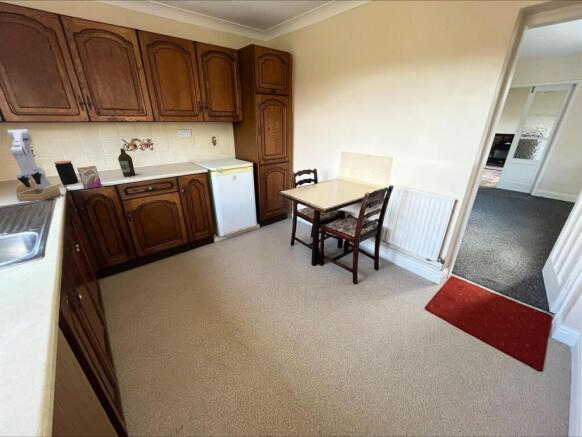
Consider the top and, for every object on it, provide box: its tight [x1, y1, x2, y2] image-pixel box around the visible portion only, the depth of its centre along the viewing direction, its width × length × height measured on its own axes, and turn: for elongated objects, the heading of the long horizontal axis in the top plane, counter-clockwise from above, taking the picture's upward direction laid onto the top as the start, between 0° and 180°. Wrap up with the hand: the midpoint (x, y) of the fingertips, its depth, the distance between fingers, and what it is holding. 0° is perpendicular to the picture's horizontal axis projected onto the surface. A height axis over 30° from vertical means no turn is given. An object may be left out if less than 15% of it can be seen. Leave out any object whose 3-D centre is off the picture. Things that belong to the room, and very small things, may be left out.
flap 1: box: [15, 181, 36, 195], centre depth 165 cm, size 13×6×1 cm
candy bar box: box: [76, 164, 103, 190], centre depth 188 cm, size 11×5×16 cm, turn 141°
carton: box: [15, 187, 62, 202], centre depth 167 cm, size 14×16×4 cm
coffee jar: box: [53, 160, 79, 186], centre depth 200 cm, size 11×11×18 cm
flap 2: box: [42, 181, 63, 193], centre depth 166 cm, size 13×6×1 cm
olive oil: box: [117, 147, 136, 178], centre depth 222 cm, size 11×11×25 cm
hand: (33, 185), depth 165 cm, fingers open, 7 cm apart
